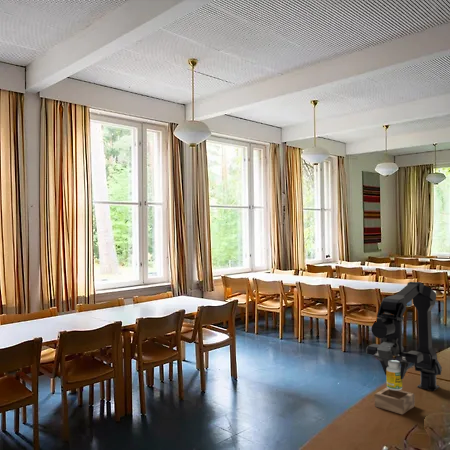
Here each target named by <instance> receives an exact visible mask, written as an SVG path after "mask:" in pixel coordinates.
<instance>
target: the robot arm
mask: <svg viewBox="0 0 450 450" xmlns="http://www.w3.org/2000/svg"><path fill="white" fill-rule="evenodd" d="M436 300H437V293H436V292H435V290H433V289H432V288H431V287H429V286H426V285H425V284H424V283H423V282H418V281H409V282H407V284H406V286H405V285H404V287H403V288H402V289H401V290H400V291H398V292H397V293H396V294H393V295H388V296H386V297H384V298H382V301H381V302H380V305H379V308H378V311H377V315H376V321H375V322H373V323H372V325H371V332H372V334H373V336H374V337H375V338H377V339H383V340H382V342H381V343H380V344H378V343H372V344H369V345H367V347H366V349H365V351H366V354H367V355H371V356H374V358H376V359H377V360H379V362H380V365H381V367H382V370H383V372H384V375H385V376H386V368H387V367H388V366H389V365H388V361H389V360H393V357H399V358H402V360H400V361H399V362H400V368H401V379H402V380H403V379H404V377H406V373H407V372H408V368H409V366H410V365H411V364H413V365H414V370H415V372H420V384H417V385H416V386H417V388H419V389H424V390H428V391H432V392H434V391H436V390H438V389H439V388H441V387H440V385H437V376H441V375H442V371H443V370H442V369H443V367H442V366H441V364H440V362H439V360H438V354H437V353H436V351H435V349H434V348H433V338H432V337H433V336H432V335H433V334H432V310H433V308H434V307H435V305H436ZM410 301H412V305H413V306H414V307H415V309H416V310H417V335H418V347H417V349H416V350H410V351H409V350H408V352H405V351H404V350H405V347H404V346H403V340H404V338H405V337H404V335H403V320H404V319H405V318H404V316H403V315H404V314H405V311H406V310H407V307H406V305H408V304H409V303H410Z"/></svg>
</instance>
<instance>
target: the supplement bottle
mask: <svg viewBox="0 0 450 450" xmlns="http://www.w3.org/2000/svg"><path fill="white" fill-rule="evenodd" d="M388 365H389V366H388V367H387V368H386V375H385V376H386V387H387V388H388V389H390V390H394V391H399V390H402V391H403V379H401V364H400V361H399V360H397V359H395V360H394V359H389V361H388Z"/></svg>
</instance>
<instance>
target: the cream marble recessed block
mask: <svg viewBox="0 0 450 450" xmlns="http://www.w3.org/2000/svg"><path fill="white" fill-rule="evenodd" d="M374 407H375V408H378V409H381V410H386V411H389V412H392V413H396V414H400V415H404V414H406V413H407V412H408V411H411V410H412V409H413V408H414V407H415V393H413V392H410V391H406V390H403V389H402V390H399V391H394V390H390V389H388V388H387V386H386V387H385V388H382V389H381V390H379V391H378V392H375V393H374Z"/></svg>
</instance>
